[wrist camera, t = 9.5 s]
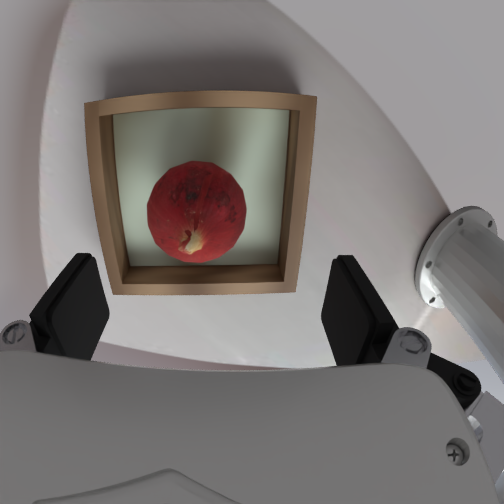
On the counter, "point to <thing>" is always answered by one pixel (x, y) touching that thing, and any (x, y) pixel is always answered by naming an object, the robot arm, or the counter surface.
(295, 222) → the tray
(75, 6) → the counter surface
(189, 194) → the dark red round piece
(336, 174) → the counter surface
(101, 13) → the counter surface
